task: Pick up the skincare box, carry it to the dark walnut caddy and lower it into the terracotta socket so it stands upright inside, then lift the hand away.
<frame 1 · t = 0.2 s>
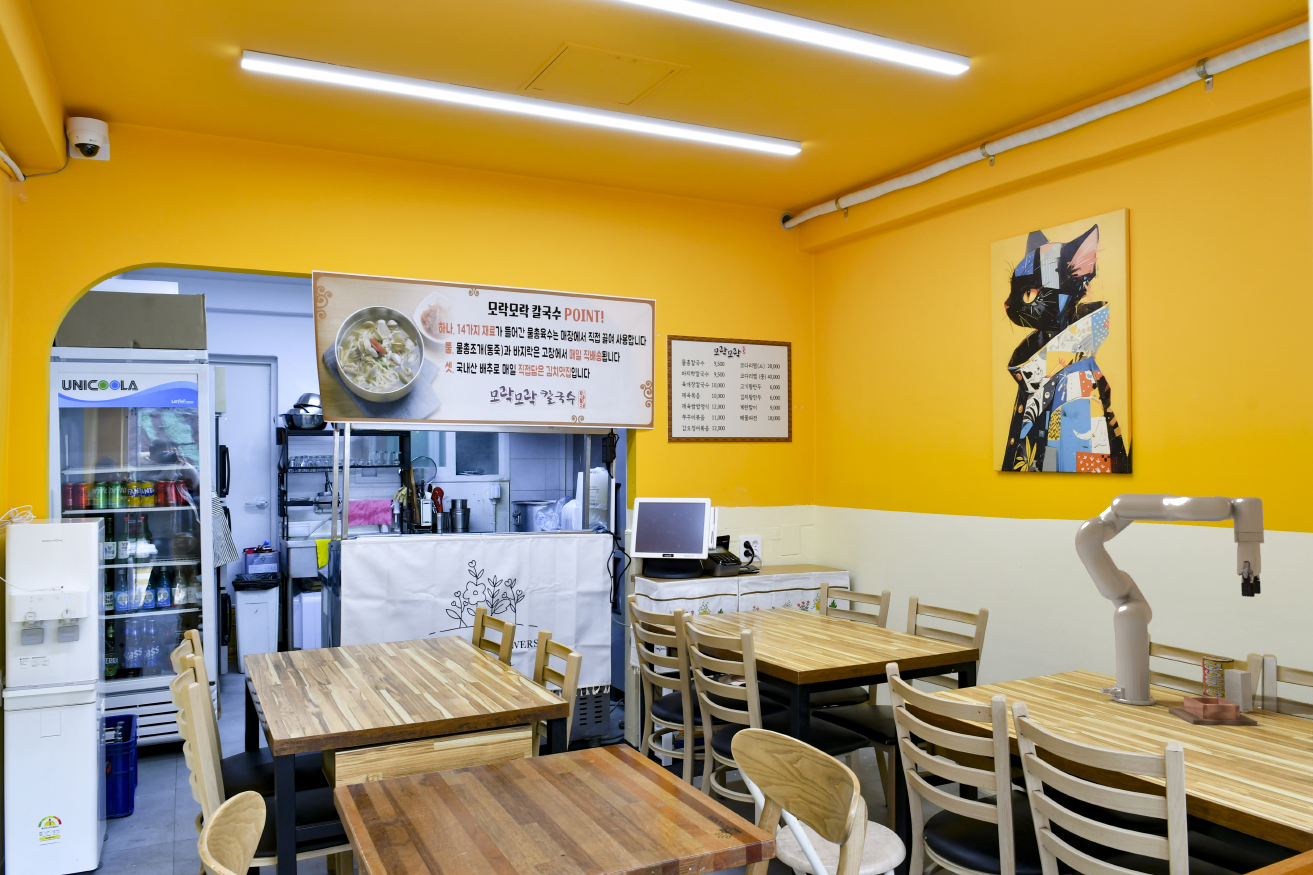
hand: (1251, 594, 273), 36 cm above the table, tool pointing down, fingers open, 9 cm apart
beverage can: (1218, 695, 299), on the table
caddy: (1211, 718, 269), on the table
skincare box: (1238, 710, 279), on the table
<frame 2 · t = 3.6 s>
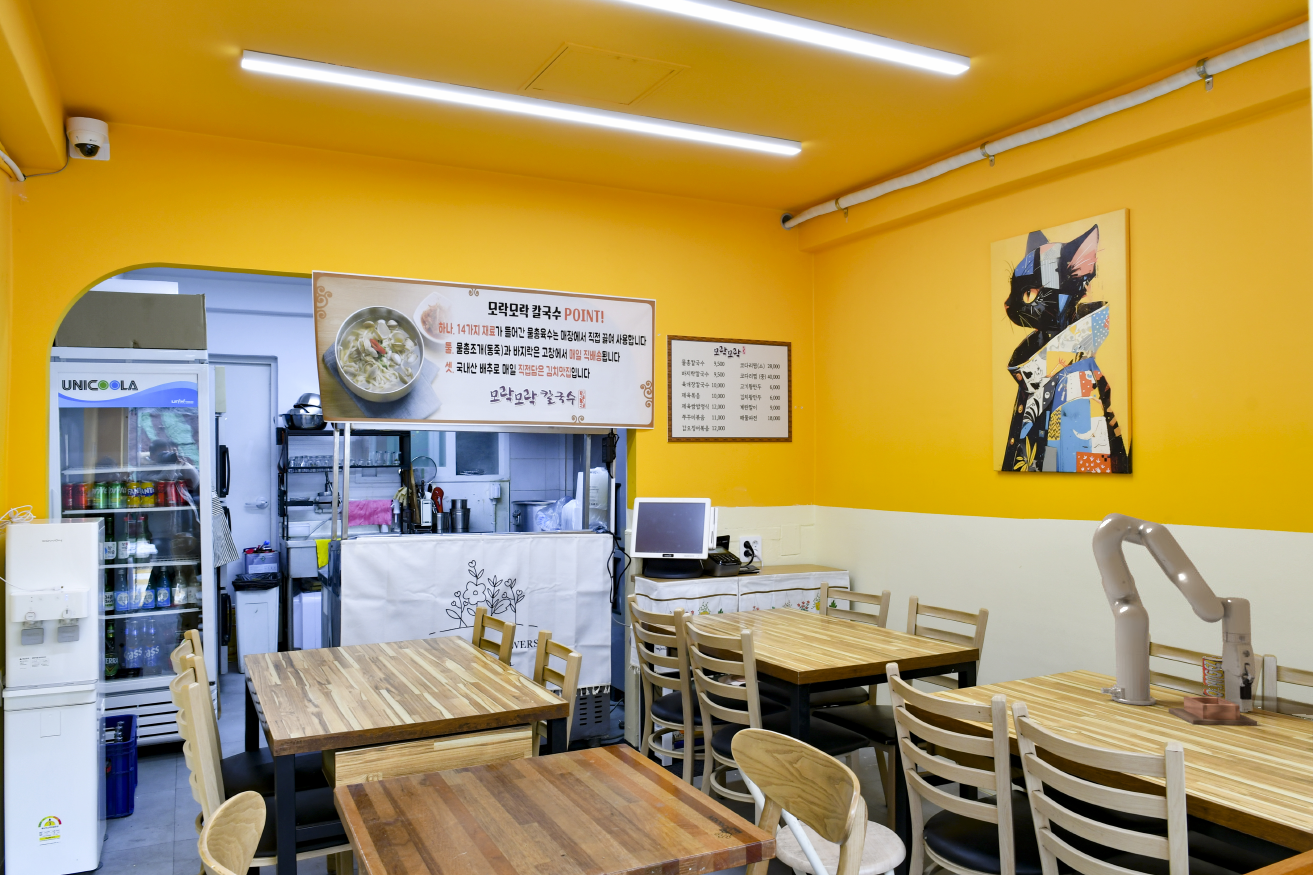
hand: (1238, 695, 279), 4 cm above the table, tool pointing down, fingers closed on skincare box, 7 cm apart
skincare box: (1238, 710, 279), on the table, touching gripper
everything else where it was.
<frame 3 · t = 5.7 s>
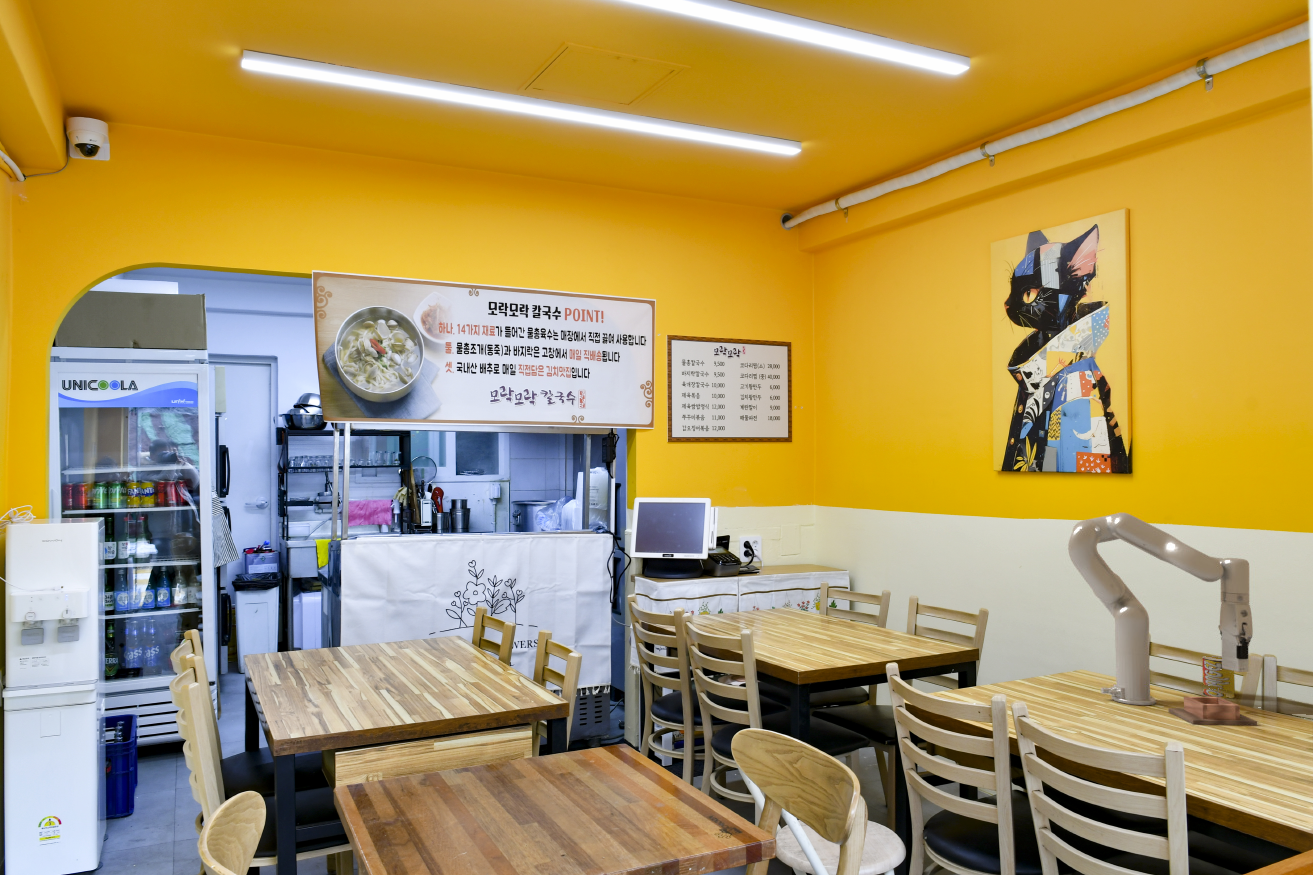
hand: (1234, 655, 280), 16 cm above the table, tool pointing down, fingers closed on skincare box, 7 cm apart
skincare box: (1235, 670, 280), point 12 cm above the table, touching gripper
everything else where it was.
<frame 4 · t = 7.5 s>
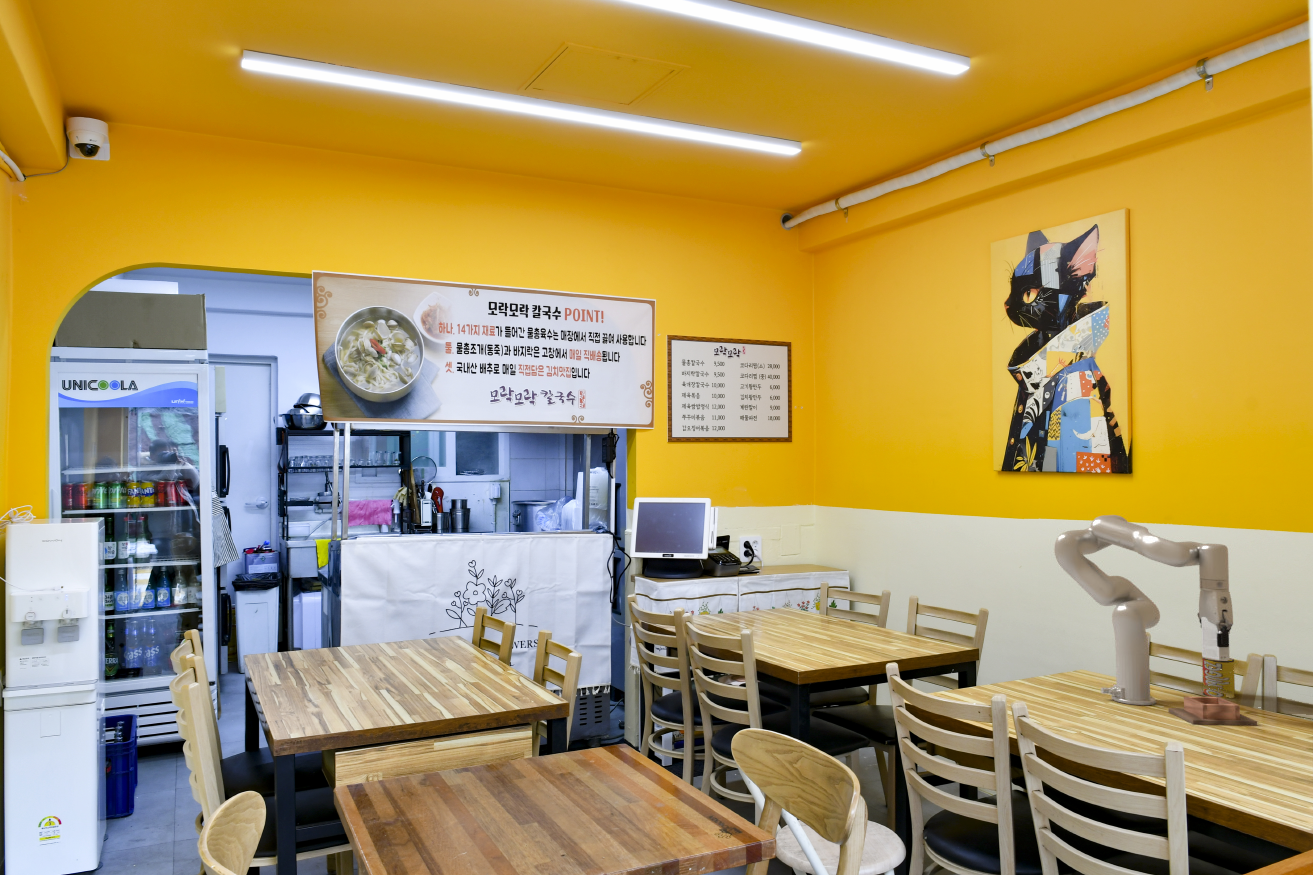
hand: (1215, 644, 272), 22 cm above the table, tool pointing down, fingers closed on skincare box, 7 cm apart
skincare box: (1215, 659, 272), point 17 cm above the table, touching gripper
everything else where it was.
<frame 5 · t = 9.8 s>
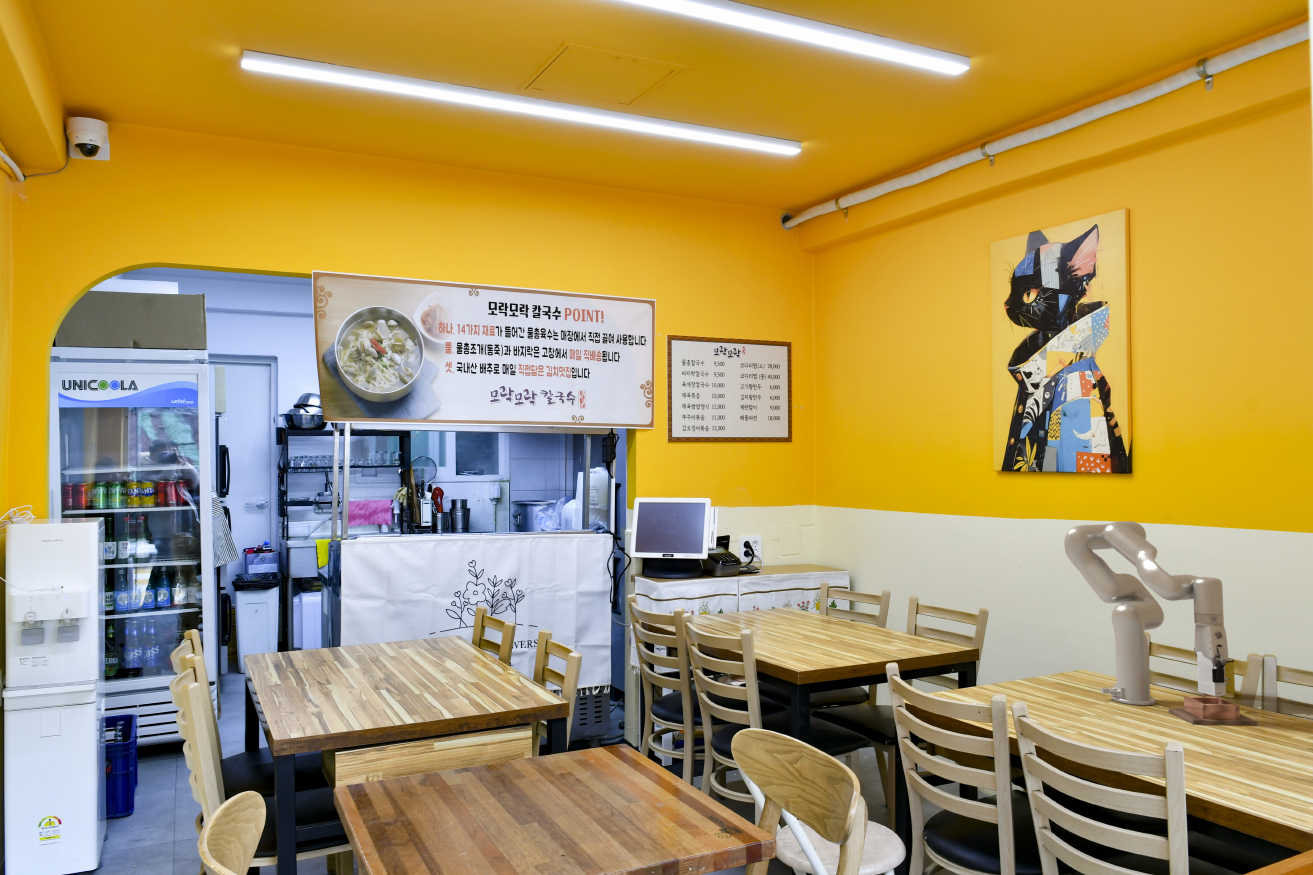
hand: (1211, 679, 269), 12 cm above the table, tool pointing down, fingers closed on skincare box, 7 cm apart
skincare box: (1211, 694, 269), point 7 cm above the table, touching gripper
everything else where it was.
when the fingers open (7 cm above the table, at t = 11.7 s): skincare box drops 1 cm, resting on caddy.
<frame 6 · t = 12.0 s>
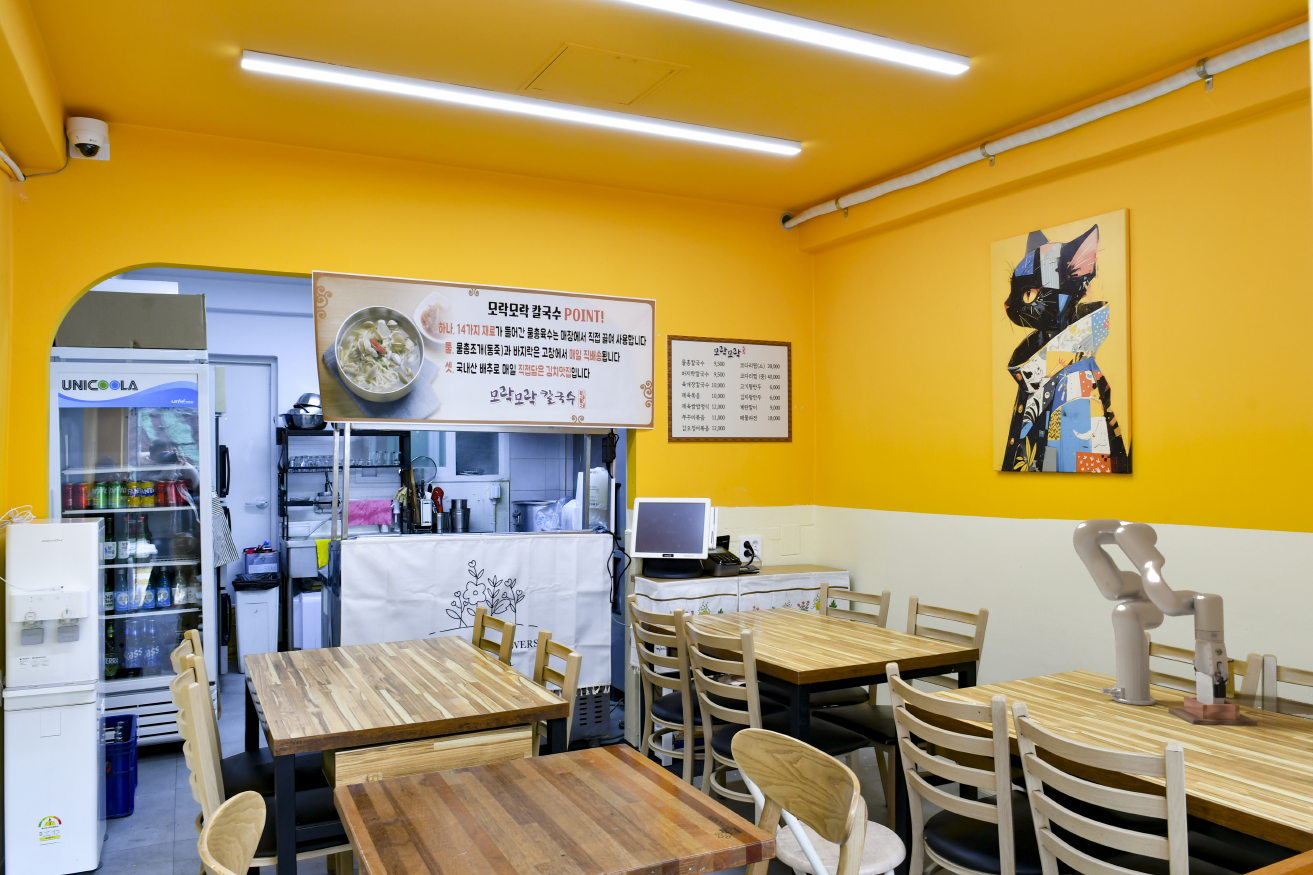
hand: (1210, 693, 269), 7 cm above the table, tool pointing down, fingers open, 9 cm apart
skincare box: (1210, 714, 269), point 1 cm above the table, touching caddy
everything else where it was.
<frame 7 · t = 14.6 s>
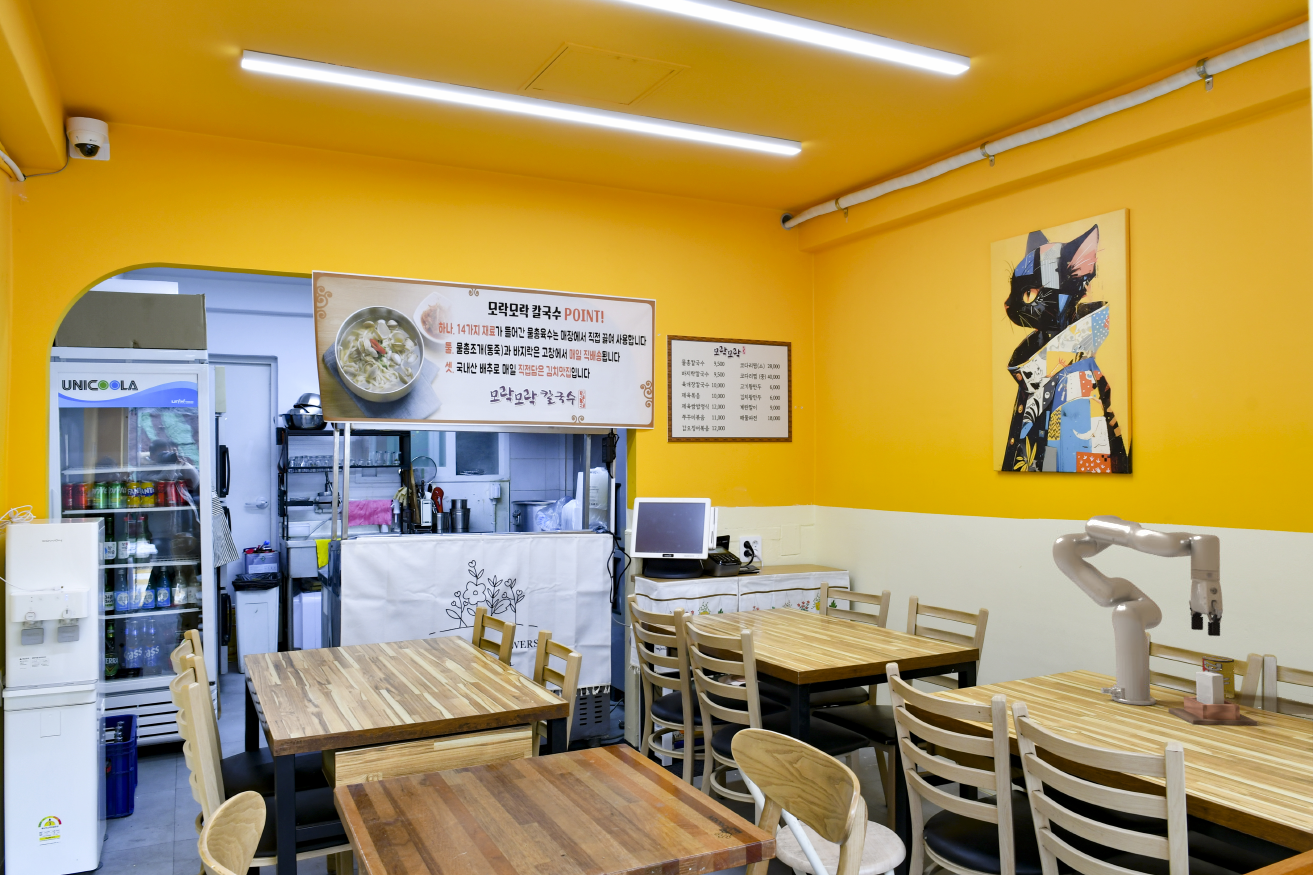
hand: (1205, 632, 273), 25 cm above the table, tool pointing down, fingers open, 9 cm apart
nothing on the table moved.
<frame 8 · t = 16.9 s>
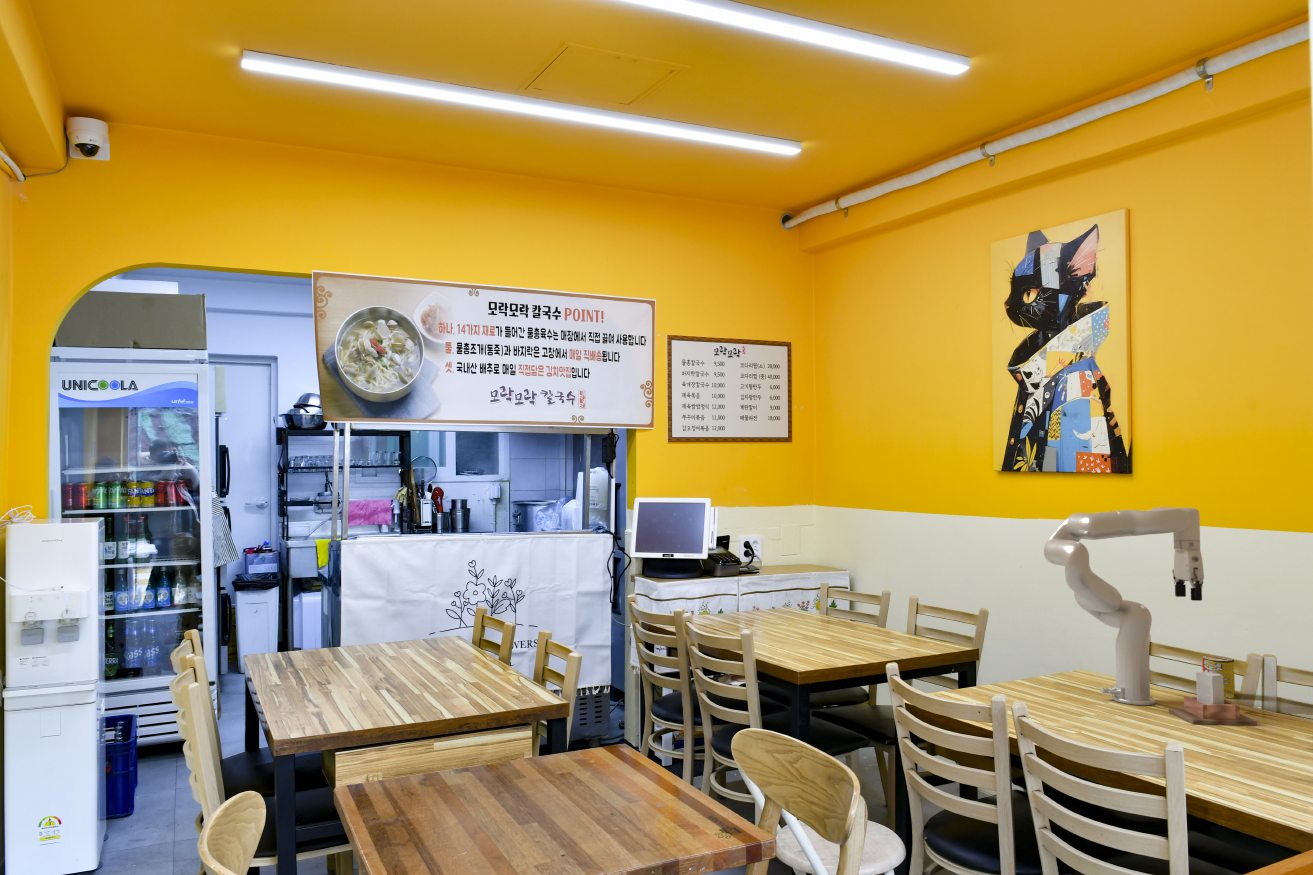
hand: (1188, 598, 295), 32 cm above the table, tool pointing down, fingers open, 9 cm apart
nothing on the table moved.
at the end: skincare box 0.4 cm off-centre on the caddy, point 1.0 cm above the caddy's base; skincare box tilted 0°; the gripper is holding nothing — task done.
